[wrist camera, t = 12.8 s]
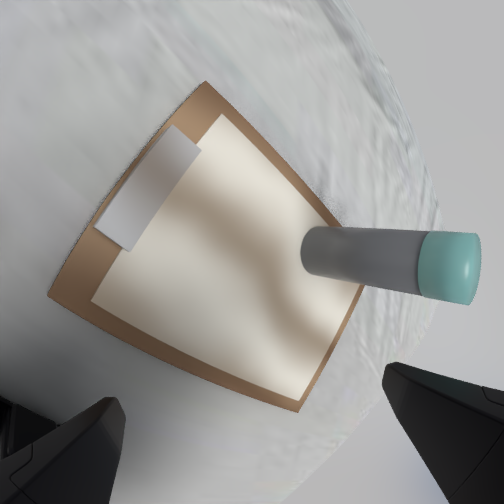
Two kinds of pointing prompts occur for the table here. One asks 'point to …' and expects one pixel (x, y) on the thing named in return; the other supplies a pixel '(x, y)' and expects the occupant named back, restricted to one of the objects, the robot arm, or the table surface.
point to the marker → (397, 260)
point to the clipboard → (212, 259)
